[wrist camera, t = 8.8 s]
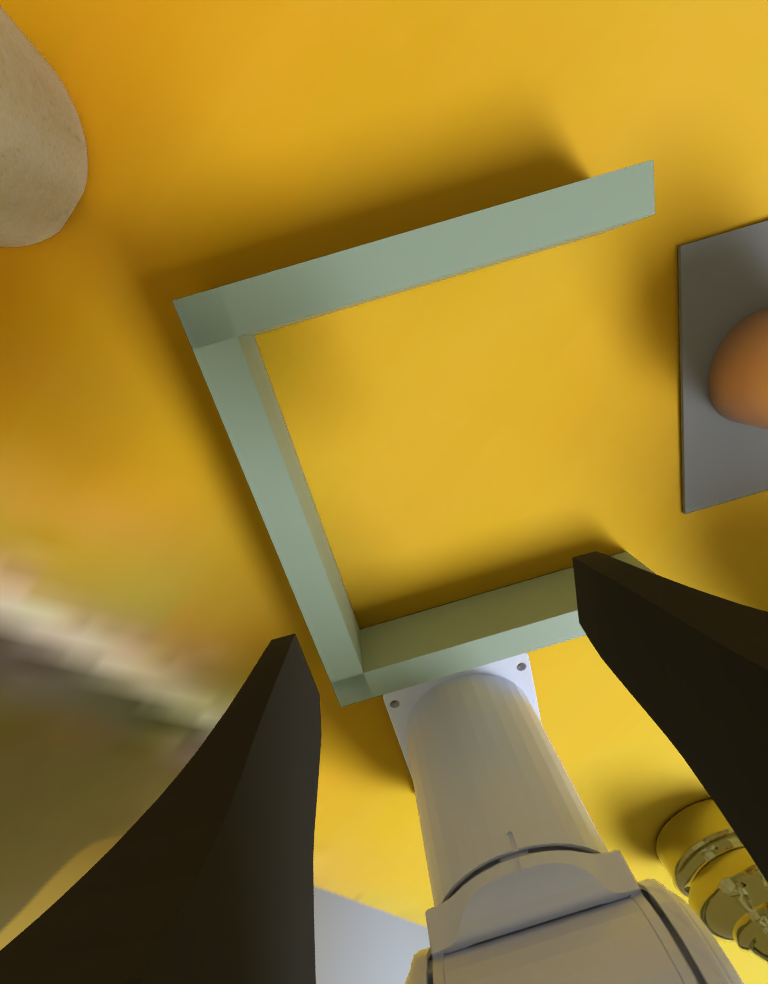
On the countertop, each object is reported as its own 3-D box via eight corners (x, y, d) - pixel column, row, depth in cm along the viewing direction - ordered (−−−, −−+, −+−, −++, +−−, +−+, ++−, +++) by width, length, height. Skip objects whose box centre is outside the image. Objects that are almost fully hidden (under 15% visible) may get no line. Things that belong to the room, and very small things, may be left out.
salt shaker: (751, 780, 30) (940, 986, 20) (752, 845, 32) (920, 1053, 23) (647, 814, 30) (788, 1034, 21) (656, 876, 33) (785, 1095, 23)
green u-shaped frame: (628, 576, 23) (669, 610, 20) (340, 660, 23) (340, 707, 20) (599, 188, 16) (653, 159, 14) (200, 305, 16) (172, 300, 14)
